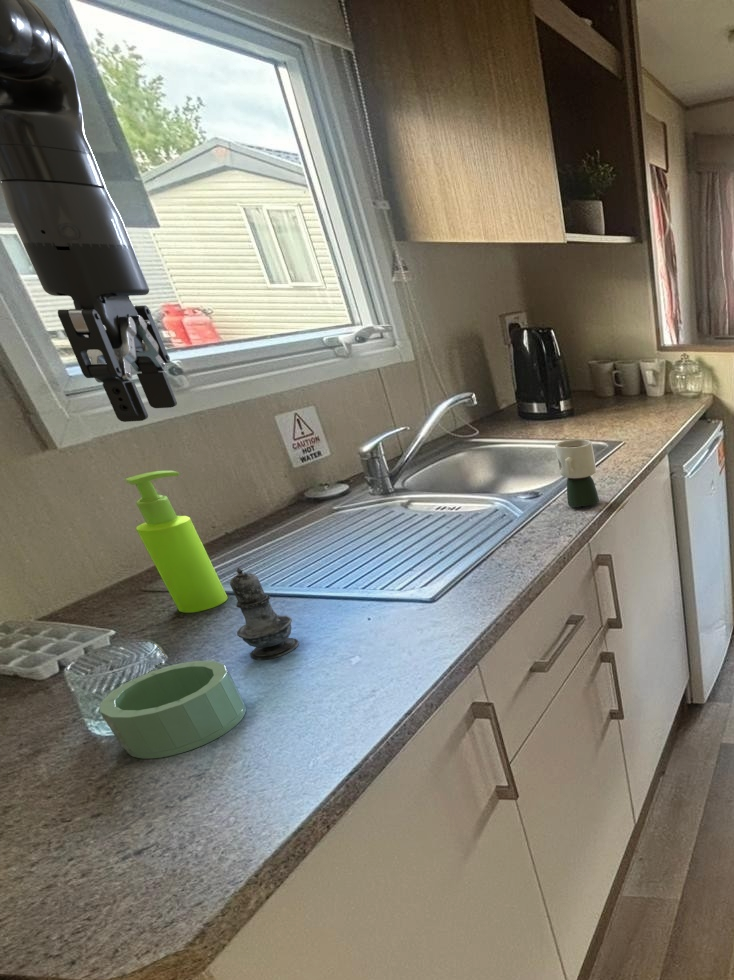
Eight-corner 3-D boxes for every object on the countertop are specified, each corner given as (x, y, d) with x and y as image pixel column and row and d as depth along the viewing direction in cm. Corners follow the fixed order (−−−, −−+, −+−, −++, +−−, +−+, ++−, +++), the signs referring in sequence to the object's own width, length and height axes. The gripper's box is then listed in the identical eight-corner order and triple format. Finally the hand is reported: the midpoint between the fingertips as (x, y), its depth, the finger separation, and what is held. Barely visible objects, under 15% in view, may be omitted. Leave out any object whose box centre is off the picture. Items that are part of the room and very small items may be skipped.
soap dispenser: (242, 597, 101) (184, 471, 92) (188, 616, 96) (120, 484, 87) (225, 588, 104) (166, 465, 95) (171, 607, 99) (103, 478, 89)
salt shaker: (236, 658, 86) (195, 575, 80) (277, 635, 91) (242, 556, 85) (272, 663, 85) (233, 580, 79) (312, 640, 90) (278, 560, 84)
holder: (105, 769, 67) (77, 727, 65) (152, 711, 76) (129, 671, 73) (227, 744, 71) (204, 703, 68) (259, 691, 79) (240, 653, 77)
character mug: (575, 496, 142) (564, 436, 136) (608, 496, 142) (598, 436, 136) (558, 514, 132) (546, 450, 126) (593, 514, 132) (583, 450, 126)
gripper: (62, 243, 67) (131, 406, 74) (-20, 235, 56) (71, 429, 63) (155, 245, 70) (214, 401, 77) (96, 238, 59) (171, 422, 66)
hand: (150, 413), depth 70 cm, fingers open, 8 cm apart
